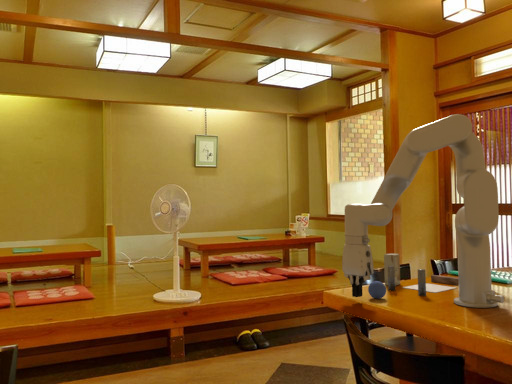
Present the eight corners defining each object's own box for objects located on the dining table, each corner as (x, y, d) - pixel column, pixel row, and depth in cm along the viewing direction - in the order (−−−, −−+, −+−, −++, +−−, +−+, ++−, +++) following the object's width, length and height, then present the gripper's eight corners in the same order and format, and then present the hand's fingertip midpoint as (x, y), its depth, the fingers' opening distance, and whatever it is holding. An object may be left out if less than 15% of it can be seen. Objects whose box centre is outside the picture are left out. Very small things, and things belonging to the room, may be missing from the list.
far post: (396, 290, 175) (396, 266, 176) (392, 291, 174) (391, 266, 174) (391, 289, 177) (390, 265, 178) (386, 290, 176) (386, 266, 176)
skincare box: (395, 286, 184) (394, 255, 184) (384, 285, 186) (383, 254, 187) (400, 283, 189) (399, 253, 189) (390, 283, 191) (389, 253, 192)
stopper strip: (471, 286, 181) (470, 279, 181) (468, 286, 179) (468, 280, 180) (434, 281, 194) (433, 274, 194) (431, 281, 192) (431, 275, 193)
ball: (390, 298, 160) (389, 281, 160) (378, 301, 157) (378, 283, 157) (376, 296, 165) (375, 279, 165) (364, 298, 162) (364, 281, 162)
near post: (427, 295, 165) (426, 269, 165) (423, 296, 163) (422, 270, 163) (421, 294, 167) (420, 268, 167) (416, 295, 165) (416, 269, 165)
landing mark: (457, 288, 177) (457, 287, 177) (435, 292, 169) (435, 292, 169) (424, 283, 188) (424, 283, 188) (402, 287, 180) (402, 287, 180)
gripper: (381, 241, 152) (382, 298, 152) (347, 239, 164) (348, 291, 164) (366, 243, 148) (367, 301, 147) (332, 240, 160) (333, 294, 159)
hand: (357, 296), depth 155 cm, fingers closed
